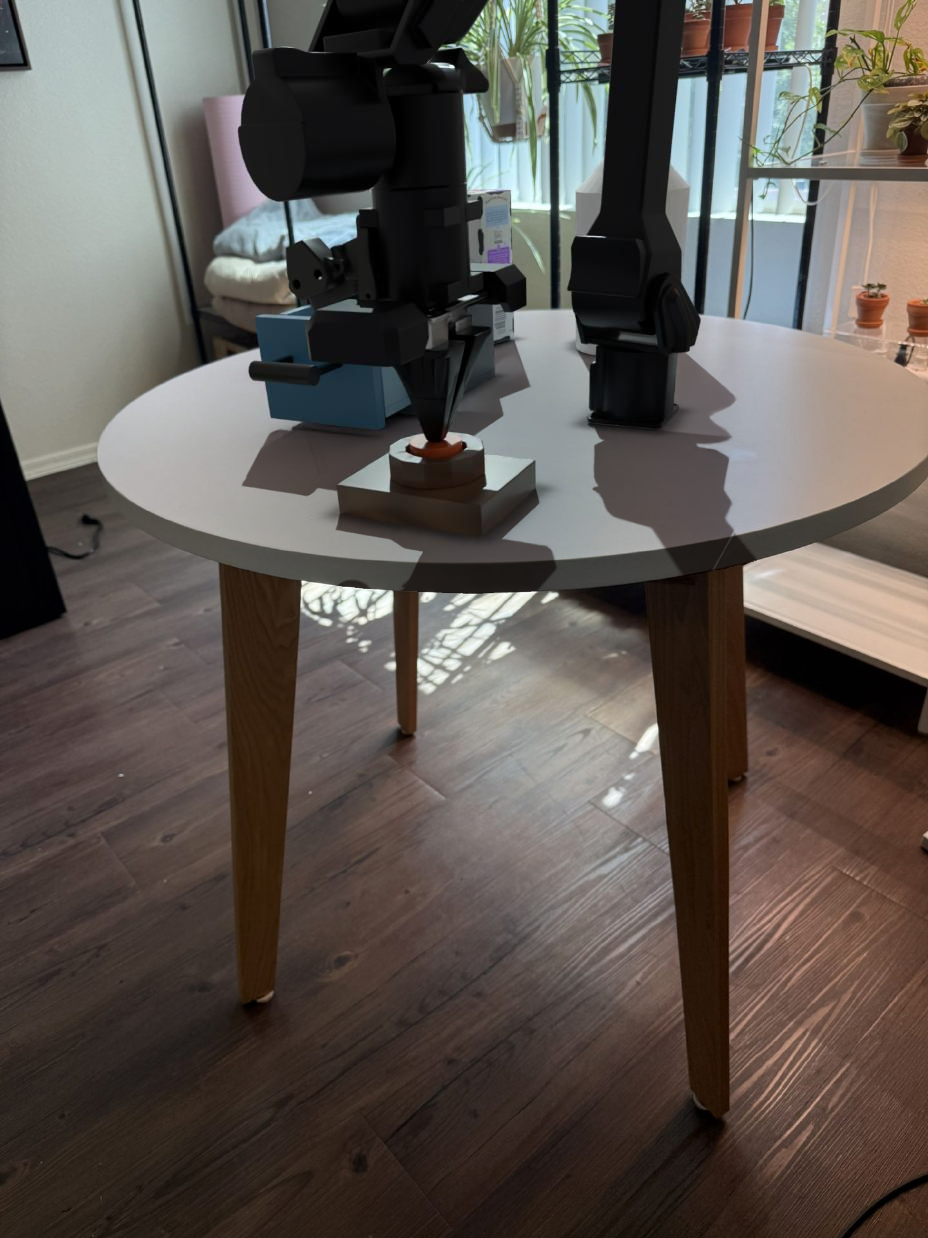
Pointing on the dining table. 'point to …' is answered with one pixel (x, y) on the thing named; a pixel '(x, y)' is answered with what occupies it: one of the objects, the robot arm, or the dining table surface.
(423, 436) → the button
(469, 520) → the control block
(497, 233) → the candy box
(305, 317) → the blue drawer
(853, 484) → the dining table surface
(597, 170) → the bottle
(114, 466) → the dining table surface
